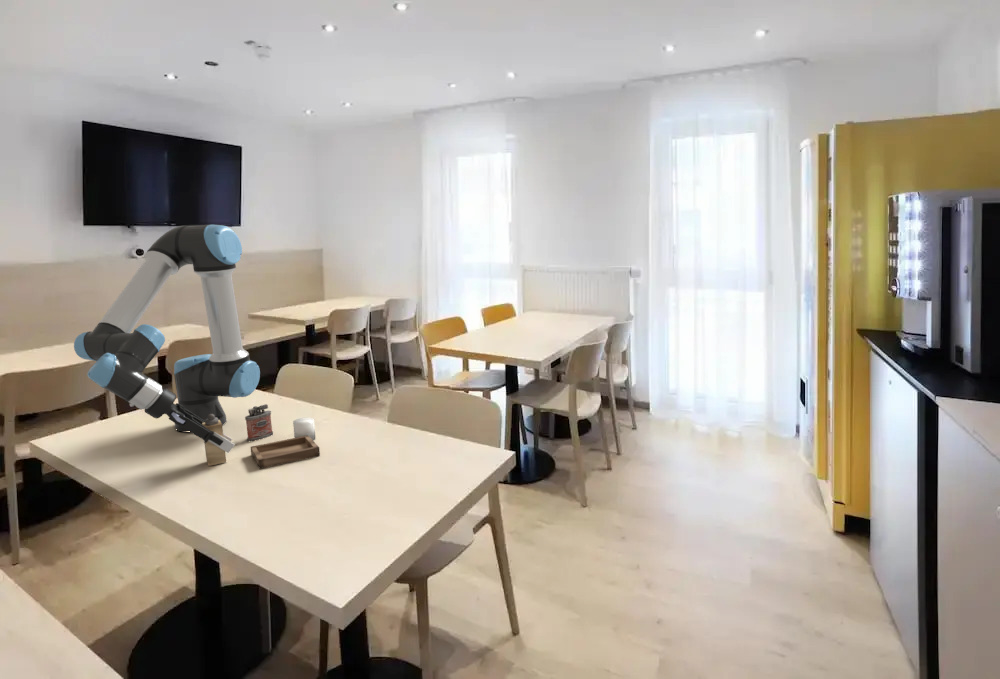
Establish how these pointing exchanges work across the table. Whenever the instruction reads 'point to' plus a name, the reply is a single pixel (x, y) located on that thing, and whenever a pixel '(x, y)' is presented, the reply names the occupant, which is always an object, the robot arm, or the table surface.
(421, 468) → the table surface
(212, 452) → the pepper mill
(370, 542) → the table surface
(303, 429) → the white pillar candle
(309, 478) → the table surface
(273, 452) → the tray
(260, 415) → the lighter
